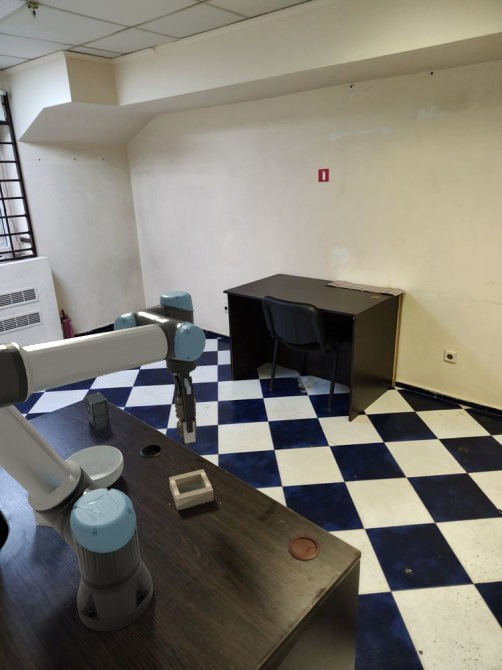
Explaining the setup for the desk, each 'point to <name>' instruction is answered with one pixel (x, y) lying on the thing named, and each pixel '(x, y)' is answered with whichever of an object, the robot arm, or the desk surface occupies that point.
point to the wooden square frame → (191, 489)
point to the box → (97, 410)
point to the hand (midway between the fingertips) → (187, 435)
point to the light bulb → (180, 415)
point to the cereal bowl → (100, 464)
